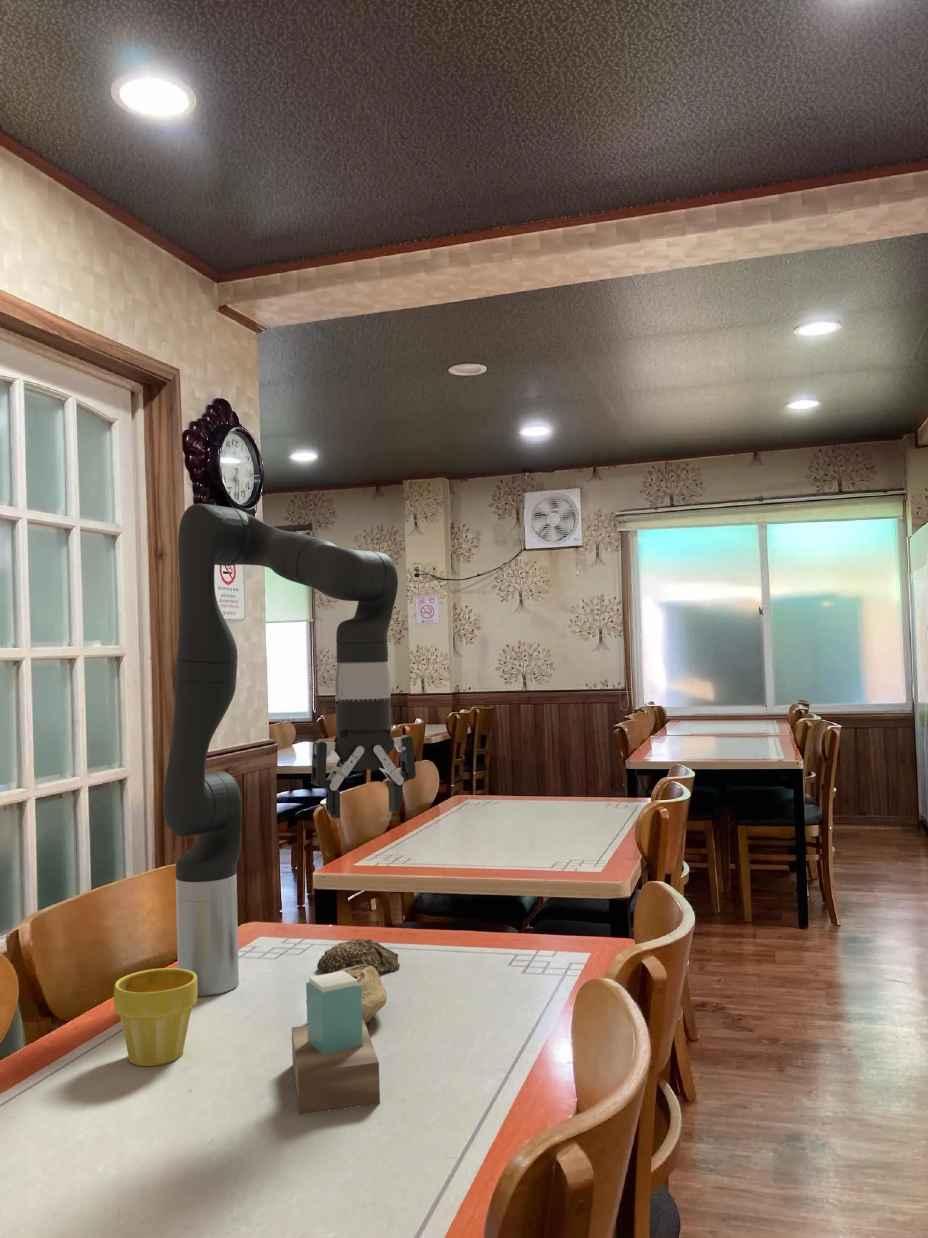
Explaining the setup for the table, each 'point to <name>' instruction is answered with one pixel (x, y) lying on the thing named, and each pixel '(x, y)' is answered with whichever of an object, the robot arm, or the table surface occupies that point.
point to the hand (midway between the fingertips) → (364, 815)
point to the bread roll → (358, 957)
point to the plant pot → (155, 1013)
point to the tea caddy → (334, 1012)
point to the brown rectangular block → (334, 1075)
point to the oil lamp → (368, 989)
